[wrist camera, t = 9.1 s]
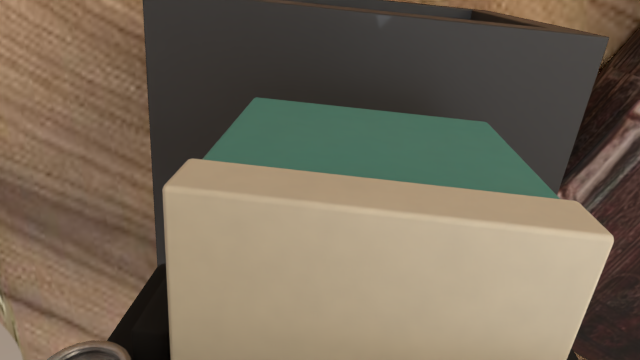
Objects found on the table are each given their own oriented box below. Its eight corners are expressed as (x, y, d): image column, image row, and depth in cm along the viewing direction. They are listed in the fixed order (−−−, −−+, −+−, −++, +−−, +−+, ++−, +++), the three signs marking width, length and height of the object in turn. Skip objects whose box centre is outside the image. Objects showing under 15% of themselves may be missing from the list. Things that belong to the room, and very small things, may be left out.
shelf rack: (234, 180, 31) (159, 308, 19) (238, -16, 26) (141, -12, 14) (445, 204, 30) (506, 349, 18) (489, 10, 25) (610, 37, 14)
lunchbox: (423, 399, 13) (461, 626, 8) (240, 376, 13) (180, 589, 9) (493, 117, 10) (619, 237, 5) (249, 90, 10) (159, 186, 5)
